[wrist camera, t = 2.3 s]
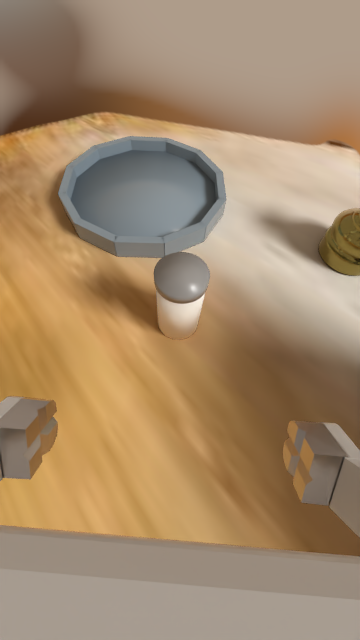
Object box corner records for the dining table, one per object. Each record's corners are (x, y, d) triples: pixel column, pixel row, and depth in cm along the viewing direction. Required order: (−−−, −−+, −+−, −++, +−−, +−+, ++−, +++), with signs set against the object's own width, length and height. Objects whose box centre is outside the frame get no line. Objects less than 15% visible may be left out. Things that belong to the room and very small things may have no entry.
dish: (32, 214, 36) (23, 198, 34) (126, 138, 45) (124, 122, 43) (172, 284, 32) (173, 270, 29) (245, 184, 41) (249, 168, 39)
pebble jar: (148, 327, 29) (142, 280, 21) (170, 297, 31) (172, 244, 23) (186, 348, 28) (193, 306, 20) (205, 315, 30) (219, 266, 22)
